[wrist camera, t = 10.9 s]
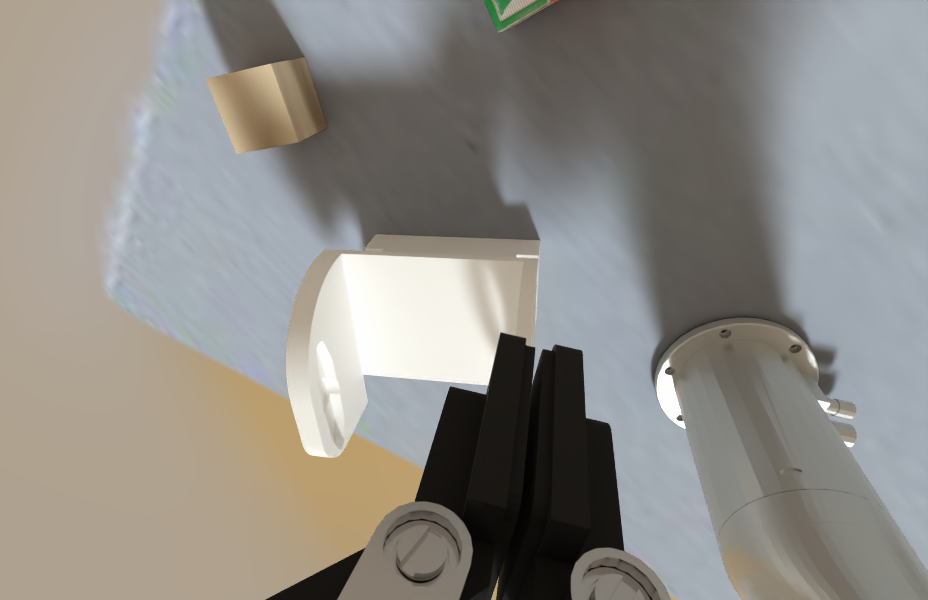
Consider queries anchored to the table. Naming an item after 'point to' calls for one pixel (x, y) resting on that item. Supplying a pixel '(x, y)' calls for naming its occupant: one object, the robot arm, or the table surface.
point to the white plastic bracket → (402, 322)
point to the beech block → (268, 105)
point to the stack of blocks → (514, 11)
